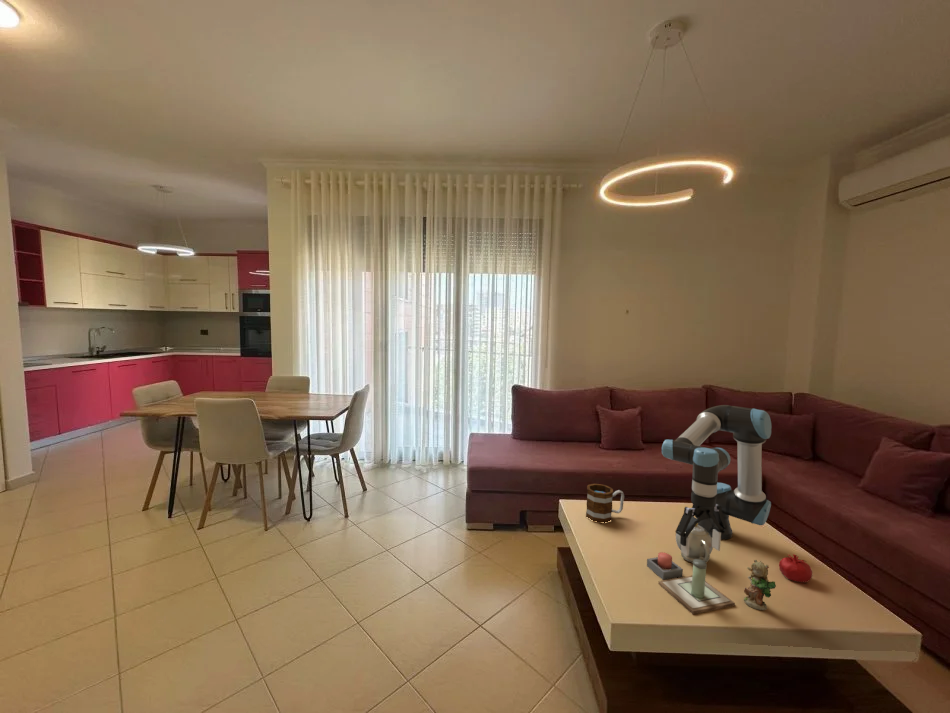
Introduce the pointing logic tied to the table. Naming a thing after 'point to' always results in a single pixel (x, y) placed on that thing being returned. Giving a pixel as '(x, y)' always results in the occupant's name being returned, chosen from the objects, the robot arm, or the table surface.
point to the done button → (664, 560)
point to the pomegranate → (795, 569)
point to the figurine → (758, 586)
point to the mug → (601, 502)
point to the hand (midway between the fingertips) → (700, 551)
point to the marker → (698, 578)
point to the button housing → (664, 574)
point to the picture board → (682, 594)
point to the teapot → (697, 544)
